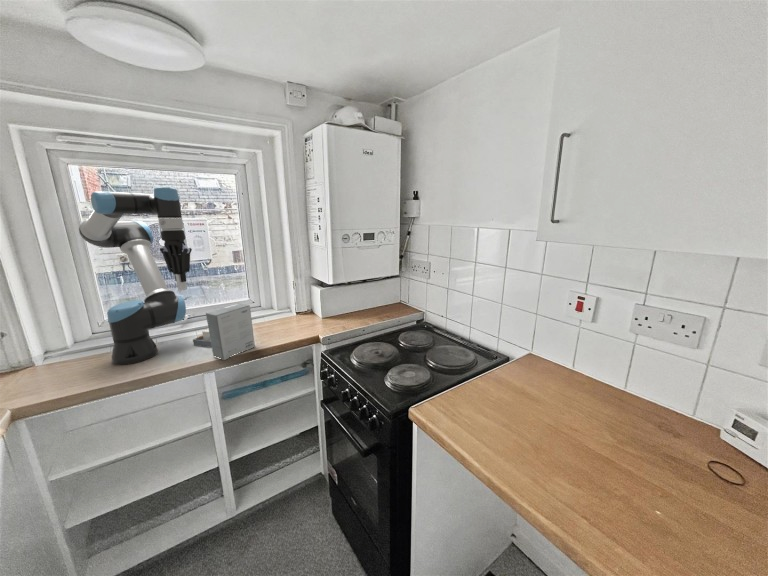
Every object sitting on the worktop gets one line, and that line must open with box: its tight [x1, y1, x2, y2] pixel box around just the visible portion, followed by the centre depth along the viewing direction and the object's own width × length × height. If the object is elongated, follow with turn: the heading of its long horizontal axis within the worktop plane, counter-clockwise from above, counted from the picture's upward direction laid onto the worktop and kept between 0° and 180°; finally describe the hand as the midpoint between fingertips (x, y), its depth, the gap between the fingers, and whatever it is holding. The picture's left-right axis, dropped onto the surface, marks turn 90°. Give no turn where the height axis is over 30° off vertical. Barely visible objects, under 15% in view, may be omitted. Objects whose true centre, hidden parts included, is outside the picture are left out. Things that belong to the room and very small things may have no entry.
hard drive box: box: [205, 302, 256, 361], centre depth 128 cm, size 16×8×20 cm, turn 149°
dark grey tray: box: [192, 334, 212, 348], centre depth 145 cm, size 13×20×3 cm, turn 166°
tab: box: [202, 328, 211, 341], centre depth 139 cm, size 4×4×4 cm
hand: (182, 289), depth 119 cm, fingers closed
